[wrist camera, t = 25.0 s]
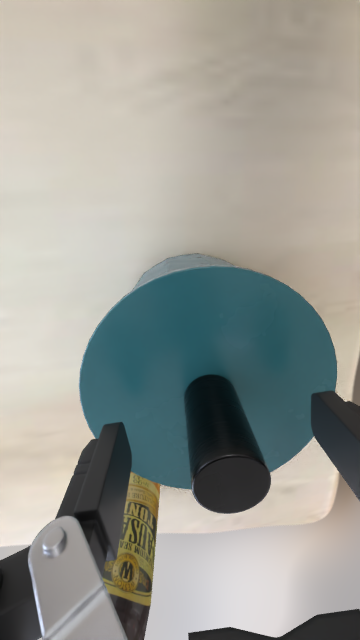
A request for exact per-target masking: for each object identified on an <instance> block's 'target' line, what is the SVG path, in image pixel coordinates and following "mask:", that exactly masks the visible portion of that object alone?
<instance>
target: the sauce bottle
mask: <svg viewBox="0 0 360 640" xmlns="http://www.w3.org/2000/svg"><path fill="white" fill-rule="evenodd" d="M159 495H160V484H159V483H155V482H152V481H150V480H147V479H145V478H143V477H140V476H138V475H136V474H135V473H133V472H131V473H130V479H129V486H128V492H127V498H126V504H125V510H124V517H123V523H122V529H121V535H120V541H119V548H118V554H117V560H112V561H106V562H105V567H104V572H103V577H102V578H103V581H104V583H105V586H106V588H107V590H108V593H109V595H110V598H111V600H112V602H113V605H114V607H115V610H116V612H117V615H118V617H119V619H120V622H121V624H122V627H123V629H124V631H125V634H126V636H127V639H128V640H144V636H145V631H146V625H147V621H148V615H149V609H150V604H151V594H152V582H153V569H154V557H155V544H156V532H157V520H158V508H159Z"/></svg>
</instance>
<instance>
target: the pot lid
mask: <svg viewBox="0 0 360 640" xmlns="http://www.w3.org/2000/svg"><path fill="white" fill-rule="evenodd" d="M336 381H337V361H336V355H335V349H334V346H333V343H332V340H331V337H330V334H329V332H328V330H327V328H326V326H325V324H324V322H323V320H322V319H321V317H320V316H319V315H318V313H317V312H316V311H315V309H314V308H313V307H312V306H311V305H310V304H309V303H308V302H307V301H306V300H305V299H304V298H303V297H302V296H301V295H300V294H299V293H297V292H296V291H294V290H293V289H291V288H290V287H289V286H287V285H286V284H284V283H282V282H280V281H278V280H276V279H274V278H272V277H270V276H268V275H265V274H262V273H259V272H256V271H253V270H250V269H246V268H241V267H235V266H230V265H201V266H191V267H187V268H182V269H178V270H173V271H171V272H168V273H165V274H162V275H160V276H157V277H155V278H153V279H151V280H149V281H147V282H145V283H143V284H141V285H140V286H138V287H136V288H135V289H134V290H132V291H131V292H130V293H128V294H127V295H125V296H124V297H123V298H122V299H121V300H120V301H119V302H118V303H117V304H115V305H114V306H113V307H112V308H111V309H110V311H109V312H108V313H107V314H106V316H105V317H104V318H103V320H102V321H101V322H100V323H99V325H98V326H97V328H96V330H95V331H94V333H93V335H92V337H91V338H90V340H89V342H88V345H87V348H86V350H85V353H84V355H83V360H82V364H81V369H80V379H79V391H80V401H81V405H82V409H83V413H84V416H85V419H86V421H87V423H88V426H89V428H90V430H91V432H92V433H93V435H94V437H95V438H96V439H99V436H100V433H101V430H102V427H103V425H104V424H110V423H117V422H123V424H124V426H125V430H126V434H127V437H128V441H129V444H130V448H131V453H132V467H131V472H133V473H135V474H136V475H138V476H140V477H143V478H145V479H147V480H150V481H152V482H155V483H159V484H162V485H165V486H170V487H175V488H182V489H192V493H193V495H194V497H195V499H196V500H197V502H198V503H199V504H200V505H201V506H203V507H204V508H206V509H208V510H210V511H213V512H217V513H224V514H230V513H238V512H242V511H245V510H248V509H250V508H252V507H254V506H255V505H257V504H258V503H259V502H261V501H262V500H263V499H264V497H265V496H266V495H267V493H268V491H269V489H270V485H271V475H270V472H272V471H274V470H276V469H277V468H279V467H280V466H282V465H283V464H285V463H286V462H288V461H289V460H290V459H292V458H293V457H294V456H295V455H296V454H298V453H299V452H300V451H301V450H302V449H303V448H304V447H305V446H306V445H307V444H308V443H309V442H310V440H311V439H312V438H313V436H314V434H313V432H312V428H311V395H312V394H313V393H318V392H324V391H334V392H335V388H336Z"/></svg>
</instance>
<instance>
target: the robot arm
mask: <svg viewBox="0 0 360 640" xmlns="http://www.w3.org/2000/svg"><path fill="white" fill-rule="evenodd" d="M311 428H312V432H313V434H314V436H315V438H316V440H317V441H318V443H319V444H320V446H321V447H322V448H323V450H324V451H325V453H326V454H327V455H328V457H329V458H330V460H331V461H332V463H333V464H334V465H335V467H336V468H337V470H338V471H339V472H340V474H341V475H342V477H343V478H344V479H345V481H346V482H347V484H348V485H349V487H350V488H351V489H352V491H353V492H354V493H355V495H356V497H357V498H358V499H359V501H360V406H358V405H356V404H354V403H352V402H350V401H347V402H345V401H344V400H343V399H342V398H340V397H339V396H338V395H337V394H336V393H335V392H334V391H324V392H318V393H313V394H312V395H311ZM131 467H132V453H131V448H130V444H129V441H128V437H127V434H126V430H125V426H124V424H123V422H117V423H110V424H104V425H103V427H102V430H101V433H100V436H99V439H92V440H91V441H90V442H89V443H88V445H87V446H86V447H85V448H84V449H83V451H82V453H81V456H80V458H79V461H78V465H77V466H76V468H75V471H74V475H73V476H72V478H71V481H70V483H69V486H68V488H67V491H66V493H65V496H64V498H63V501H62V504H61V506H60V509H59V511H58V514H57V516H56V518H55V520H53V521H52V522H50V523H49V524H47V525H46V526H45V527H44V528H43V529H42V530H41V531H40V532H39V533H38V535H37V536H36V538H35V539H34V541H33V543H32V545H31V546H29V547H27V548H25V549H23V550H21V551H19V552H17V553H15V554H13V555H11V556H9V557H7V558H5V559H3V560H0V640H38V639H39V638H41V637H42V639H43V640H128V639H127V636H126V634H125V631H124V629H123V627H122V624H121V622H120V619H119V617H118V615H117V612H116V610H115V607H114V605H113V602H112V600H111V598H110V595H109V593H108V590H107V588H106V586H105V583H104V581H103V578H102V577H103V572H104V567H105V562H106V561H112V560H117V554H118V548H119V541H120V535H121V529H122V523H123V517H124V510H125V504H126V498H127V492H128V486H129V479H130V473H131ZM188 634H189V635H188V636H189V640H360V610H359V609H355V610H349V611H341V612H334V613H327V614H320V615H316V616H314V617H313V618H311V619H309V620H308V621H306V622H304V623H303V624H301V625H299V626H298V627H296V628H294V629H293V630H291V631H290V632H288V633H286V634H285V635H283V636H281V637H277V638H274V637H269V636H265V635H260V634H257V633H252V632H248V631H244V630H240V629H236V628H231V627H227V628H220V629H213V630H206V631H199V632H193V633H188Z"/></svg>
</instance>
